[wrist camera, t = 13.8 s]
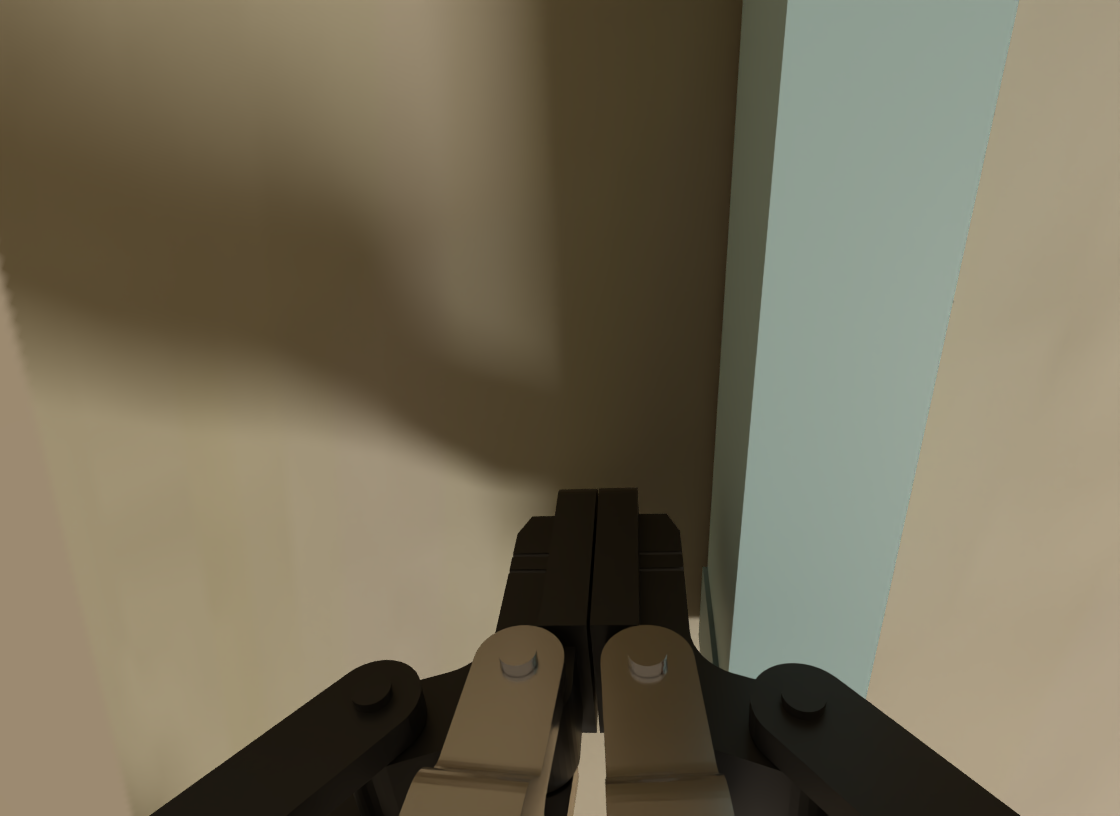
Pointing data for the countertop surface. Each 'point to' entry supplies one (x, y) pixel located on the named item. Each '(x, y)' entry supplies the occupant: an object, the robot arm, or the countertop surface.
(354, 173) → the countertop surface
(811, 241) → the bar
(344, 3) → the countertop surface
